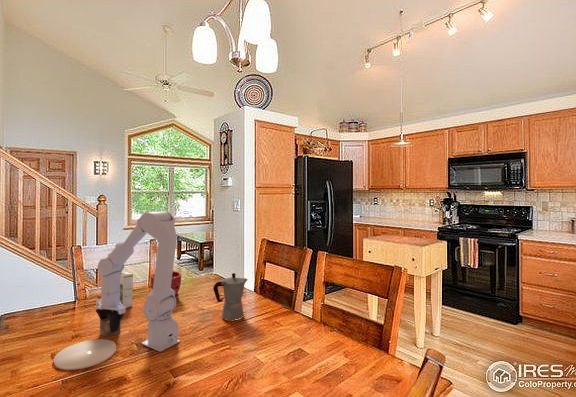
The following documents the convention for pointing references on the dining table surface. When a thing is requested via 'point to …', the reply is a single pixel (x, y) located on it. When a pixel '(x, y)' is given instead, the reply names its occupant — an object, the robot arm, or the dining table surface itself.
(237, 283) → the coffeepot
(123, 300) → the syrup box
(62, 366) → the white plate
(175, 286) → the plant pot
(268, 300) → the dining table surface
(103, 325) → the walnut block
